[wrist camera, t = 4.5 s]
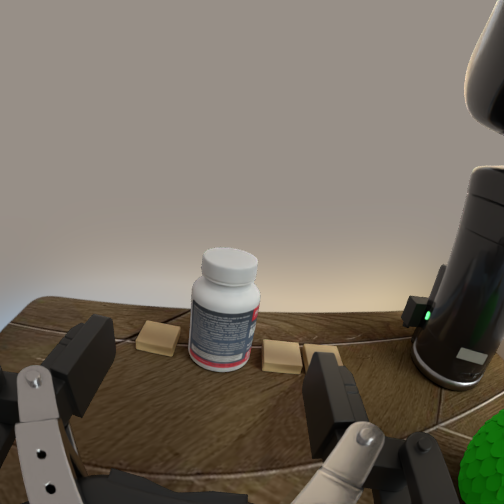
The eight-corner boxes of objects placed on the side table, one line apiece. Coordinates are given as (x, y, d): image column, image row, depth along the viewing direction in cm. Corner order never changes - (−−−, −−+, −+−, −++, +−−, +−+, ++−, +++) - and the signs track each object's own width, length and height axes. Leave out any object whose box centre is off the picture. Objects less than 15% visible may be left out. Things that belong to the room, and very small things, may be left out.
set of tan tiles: (147, 328, 26) (146, 319, 25) (333, 354, 26) (336, 345, 26) (135, 349, 23) (135, 340, 22) (340, 376, 23) (344, 368, 23)
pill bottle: (255, 373, 23) (276, 274, 20) (190, 374, 21) (196, 271, 18) (242, 334, 27) (257, 246, 24) (186, 333, 26) (192, 241, 23)
